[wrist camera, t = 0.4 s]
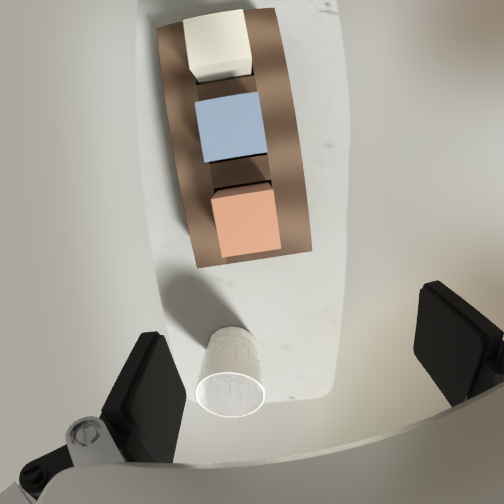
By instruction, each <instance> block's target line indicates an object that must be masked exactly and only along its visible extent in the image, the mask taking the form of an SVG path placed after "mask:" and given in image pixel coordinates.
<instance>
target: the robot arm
mask: <svg viewBox="0 0 504 504" xmlns="http://www.w3.org/2000/svg"><path fill="white" fill-rule="evenodd" d="M503 335H504V332H503V331H502V330H500V329H499V328H498V327H497V326H496V325H495V324H493V323H492V322H491V321H490V320H489V319H487V318H486V317H485V316H484V315H482V314H481V313H480V312H479V311H477V310H476V309H475V308H474V307H472V306H471V305H470V304H469V303H467V302H466V301H465V300H463V299H462V298H461V297H460V296H458V295H457V294H456V293H455V292H453V291H452V290H451V289H449V288H448V287H446V286H445V285H444V284H443V283H441V282H440V281H438V280H437V281H433V282H430V283H426V284H424V286H423V288H422V289H420V293H419V305H418V315H417V324H416V332H415V340H414V348H413V349H414V354H415V356H416V357H417V359H418V360H419V362H420V363H421V364H422V365H423V367H424V368H425V370H426V371H427V372H428V374H429V375H430V377H431V378H432V379H433V381H434V382H435V383H436V385H437V386H438V388H439V389H440V390H441V392H442V393H443V395H444V396H445V397H446V399H447V401H448V402H449V403H450V405H451V406H452V408H450V409H448V410H445V411H443V412H441V413H438V414H436V415H434V416H431V417H429V418H426V419H424V420H421V421H419V422H416V423H413V424H411V425H408V426H405V427H402V428H399V429H396V430H394V431H391V432H387V433H384V434H381V435H378V436H374V437H371V438H368V439H364V440H361V441H357V442H353V443H350V444H345V445H341V446H337V447H332V448H328V449H323V450H319V451H314V452H308V453H302V454H297V455H291V456H285V457H277V458H270V459H261V460H251V461H241V462H240V461H239V462H224V463H190V464H189V463H187V464H186V463H185V464H182V463H179V464H178V463H173V458H174V453H175V449H176V444H177V439H178V434H179V429H180V425H181V420H182V415H183V411H184V406H185V402H186V390H185V387H184V385H183V383H182V380H181V378H180V375H179V373H178V370H177V368H176V365H175V363H174V360H173V358H172V355H171V353H170V350H169V347H168V345H167V342H166V339H165V337H164V336H163V335H160V334H159V333H158V332H157V331H155V332H144V333H141V335H140V337H139V338H138V340H137V342H136V344H135V346H134V348H133V349H132V351H131V353H130V355H129V357H128V359H127V361H126V363H125V365H124V366H123V368H122V370H121V372H120V374H119V376H118V378H117V380H116V382H115V384H114V386H113V388H112V390H111V392H110V394H109V396H108V398H107V400H106V402H105V404H104V406H103V408H102V410H101V411H102V413H101V415H100V417H99V418H97V417H93V416H90V417H84V418H81V419H79V420H77V421H75V422H74V423H73V424H72V425H71V426H70V427H69V429H68V430H67V433H66V436H65V437H66V443H67V444H66V445H64V446H62V447H60V448H58V449H56V450H54V451H52V452H50V453H48V454H46V455H44V456H42V457H40V458H38V459H35V460H33V461H31V462H30V463H28V464H26V465H25V466H24V467H23V469H22V471H21V472H20V477H19V481H20V484H19V485H18V484H17V483H16V482H14V483H13V484H12V485H11V486H9V487H8V488H7V489H6V490H5V491H3V492H2V493H1V494H0V504H504V341H503V340H502V338H503Z"/></svg>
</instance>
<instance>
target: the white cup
mask: <svg viewBox="0 0 504 504" xmlns="http://www.w3.org/2000/svg"><path fill="white" fill-rule="evenodd" d="M195 396H196V399H197V401H198V403H199V404H200V405H201V406H202V407H203V408H204V409H205V410H207V411H209V412H211V413H213V414H215V415H218V416H223V417H241V416H245V415H249V414H251V413H253V412H255V411H256V410H258V409H259V408H260V407H261V405H262V404H263V402H264V400H265V390H264V383H263V376H262V369H261V362H260V357H259V354H258V350H257V342H256V339H255V338H254V337H253V335H252V334H251V333H250V332H248V331H246V330H245V329H243V328H240V327H232V326H229V327H225V328H221V329H219V330H218V331H216V332H215V333H214V334H212V336H211V338H210V341H209V343H208V347H207V350H206V352H205V355H204V358H203V362H202V366H201V370H200V374H199V378H198V381H197V385H196V389H195Z"/></svg>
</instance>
